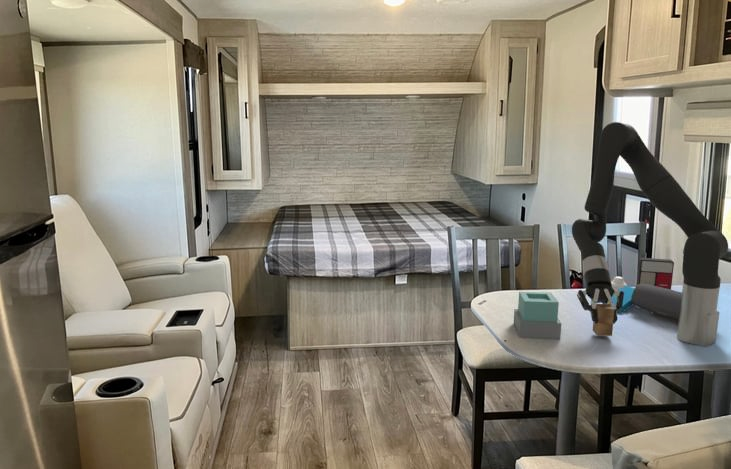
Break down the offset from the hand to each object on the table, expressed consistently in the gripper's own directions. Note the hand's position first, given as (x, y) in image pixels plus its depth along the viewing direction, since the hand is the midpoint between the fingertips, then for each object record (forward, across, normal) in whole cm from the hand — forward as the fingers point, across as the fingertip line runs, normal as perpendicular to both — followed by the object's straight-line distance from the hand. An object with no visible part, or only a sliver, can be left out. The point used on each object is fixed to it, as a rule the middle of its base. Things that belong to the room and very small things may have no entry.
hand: (605, 322), depth 163 cm
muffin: (-30, +19, +38) cm, 53 cm away
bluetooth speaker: (-11, +27, +19) cm, 35 cm away
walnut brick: (+2, 0, +4) cm, 5 cm away
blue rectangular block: (-20, +18, +28) cm, 39 cm away
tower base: (+1, -19, +7) cm, 20 cm away
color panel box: (-27, +30, +35) cm, 53 cm away
